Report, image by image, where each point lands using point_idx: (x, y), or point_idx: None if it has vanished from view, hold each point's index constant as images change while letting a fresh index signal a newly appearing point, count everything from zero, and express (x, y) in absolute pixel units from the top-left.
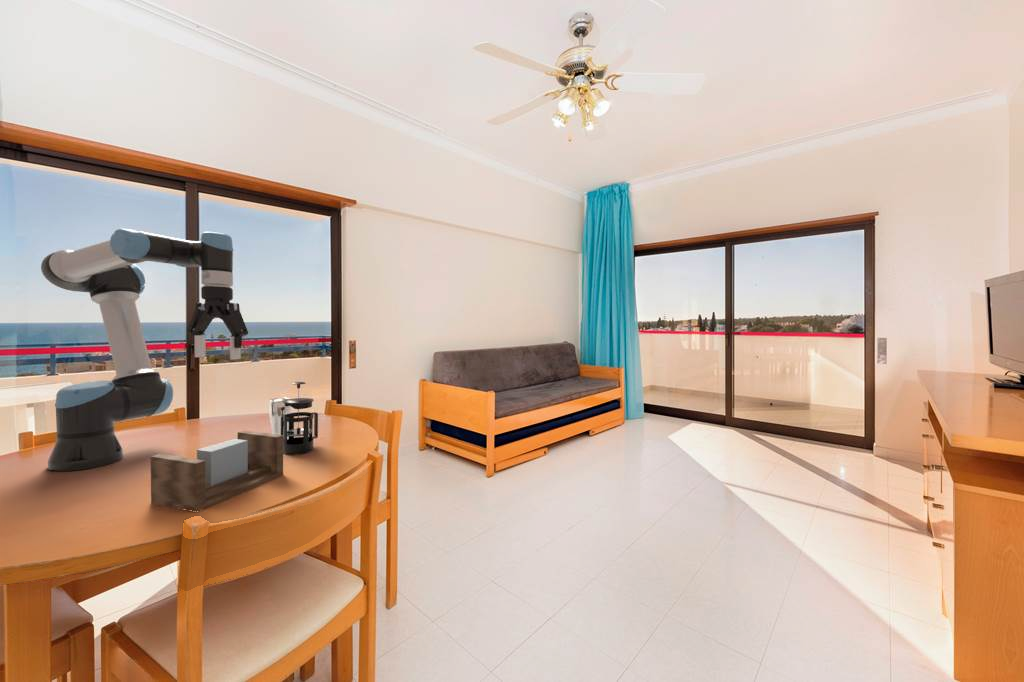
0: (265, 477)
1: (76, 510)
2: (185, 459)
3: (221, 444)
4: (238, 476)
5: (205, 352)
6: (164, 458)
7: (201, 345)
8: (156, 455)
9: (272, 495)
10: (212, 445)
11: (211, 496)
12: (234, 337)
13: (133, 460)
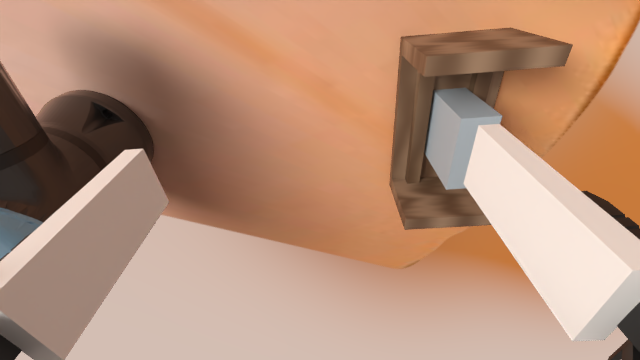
0: (501, 75)
1: (327, 218)
2: (470, 220)
3: (465, 155)
4: None
5: (125, 166)
6: (434, 227)
7: (106, 236)
8: (408, 224)
9: (543, 109)
10: (453, 165)
11: None
12: (616, 320)
13: (151, 98)
